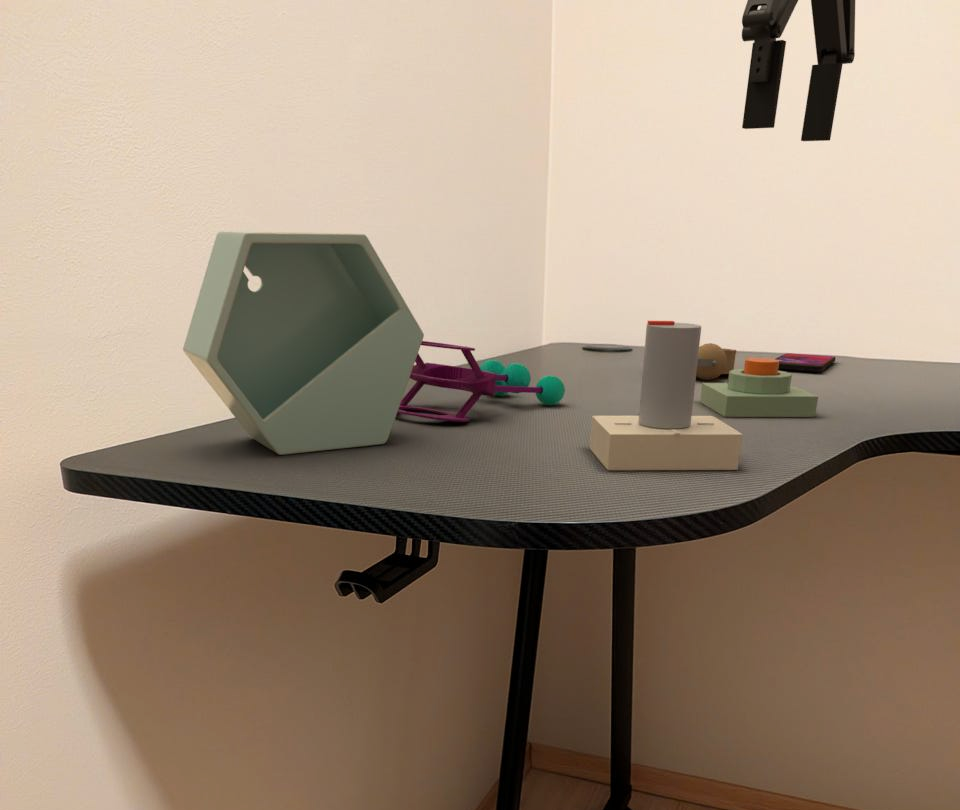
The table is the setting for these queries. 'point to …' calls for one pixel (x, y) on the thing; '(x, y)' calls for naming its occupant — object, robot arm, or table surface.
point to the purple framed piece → (476, 382)
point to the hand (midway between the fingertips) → (788, 135)
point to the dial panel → (665, 445)
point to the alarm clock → (714, 361)
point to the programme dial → (669, 374)
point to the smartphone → (804, 362)
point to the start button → (761, 366)
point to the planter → (304, 339)
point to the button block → (758, 396)
